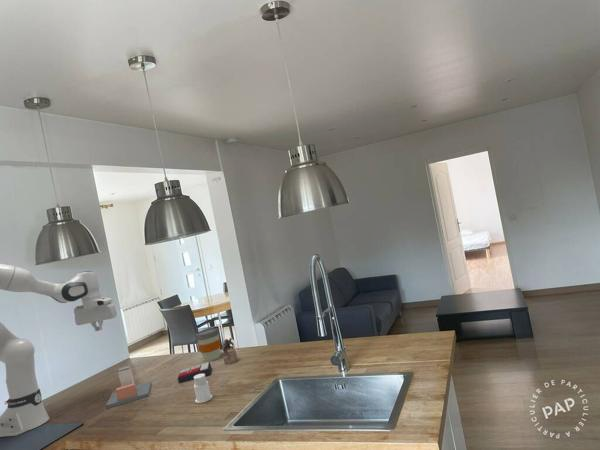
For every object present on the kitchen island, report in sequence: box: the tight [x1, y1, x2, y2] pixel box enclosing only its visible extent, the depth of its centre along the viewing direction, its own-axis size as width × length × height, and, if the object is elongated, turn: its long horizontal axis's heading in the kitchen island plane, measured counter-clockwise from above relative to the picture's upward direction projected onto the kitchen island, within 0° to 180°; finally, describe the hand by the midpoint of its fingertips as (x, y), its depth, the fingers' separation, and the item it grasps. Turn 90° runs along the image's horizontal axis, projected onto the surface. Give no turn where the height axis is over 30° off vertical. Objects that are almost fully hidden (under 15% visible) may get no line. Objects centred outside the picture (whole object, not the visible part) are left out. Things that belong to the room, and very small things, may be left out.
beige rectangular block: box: [117, 364, 135, 387], centre depth 206 cm, size 5×4×12 cm
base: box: [105, 380, 153, 410], centre depth 206 cm, size 18×18×6 cm
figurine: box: [221, 337, 239, 366], centre depth 226 cm, size 7×7×12 cm
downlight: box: [193, 374, 213, 404], centre depth 181 cm, size 8×7×10 cm
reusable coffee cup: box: [195, 327, 222, 362], centre depth 240 cm, size 13×13×15 cm
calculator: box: [177, 361, 213, 384], centre depth 215 cm, size 11×4×15 cm
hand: (98, 330), depth 218 cm, fingers closed
